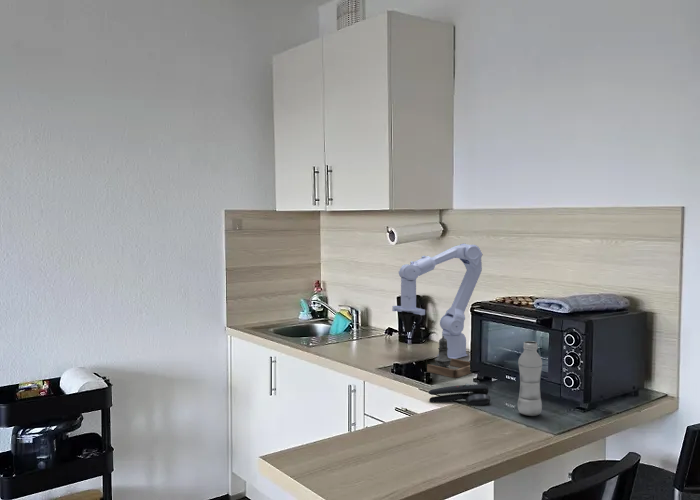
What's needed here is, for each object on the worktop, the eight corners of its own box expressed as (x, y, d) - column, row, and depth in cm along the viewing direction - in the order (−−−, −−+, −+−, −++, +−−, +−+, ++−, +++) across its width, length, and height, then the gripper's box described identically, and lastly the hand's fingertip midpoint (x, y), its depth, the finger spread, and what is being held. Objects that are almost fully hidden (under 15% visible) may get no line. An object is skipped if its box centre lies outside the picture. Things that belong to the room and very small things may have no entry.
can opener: (488, 399, 187) (488, 381, 186) (491, 407, 180) (491, 387, 179) (428, 398, 188) (428, 379, 188) (428, 405, 181) (428, 386, 181)
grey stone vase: (432, 370, 222) (432, 336, 221) (438, 366, 227) (438, 333, 226) (447, 372, 219) (448, 337, 218) (453, 368, 224) (453, 335, 223)
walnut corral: (451, 364, 229) (451, 358, 229) (479, 370, 220) (479, 363, 220) (427, 371, 219) (427, 364, 219) (455, 378, 211) (455, 370, 210)
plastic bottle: (518, 418, 169) (519, 344, 168) (515, 410, 176) (516, 339, 175) (543, 419, 168) (544, 345, 167) (539, 411, 175) (540, 340, 174)
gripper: (387, 295, 239) (387, 330, 240) (416, 299, 229) (416, 336, 230) (399, 293, 244) (399, 328, 245) (428, 297, 234) (428, 333, 235)
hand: (408, 332), depth 238 cm, fingers closed
